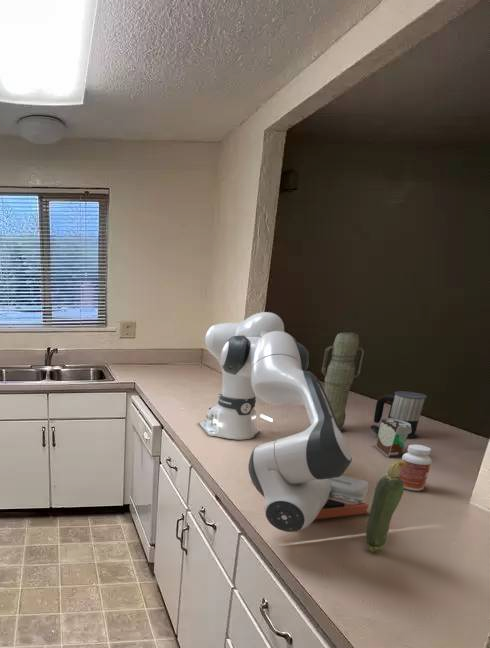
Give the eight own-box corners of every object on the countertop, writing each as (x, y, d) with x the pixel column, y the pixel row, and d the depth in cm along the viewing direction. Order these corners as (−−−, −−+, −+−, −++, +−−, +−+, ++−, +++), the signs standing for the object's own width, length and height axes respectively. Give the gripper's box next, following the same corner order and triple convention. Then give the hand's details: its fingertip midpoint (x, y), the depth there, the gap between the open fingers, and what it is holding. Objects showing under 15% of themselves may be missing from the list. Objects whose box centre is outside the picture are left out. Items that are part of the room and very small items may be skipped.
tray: (255, 482, 118) (256, 474, 117) (305, 477, 121) (306, 469, 120) (308, 521, 98) (310, 511, 97) (366, 514, 101) (368, 505, 100)
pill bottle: (427, 492, 112) (439, 452, 108) (399, 489, 113) (410, 450, 110) (418, 483, 117) (429, 444, 113) (392, 480, 119) (401, 442, 115)
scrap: (315, 507, 104) (317, 497, 103) (330, 505, 104) (332, 496, 104) (327, 515, 100) (329, 505, 99) (342, 513, 101) (344, 503, 100)
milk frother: (415, 433, 157) (425, 393, 152) (418, 445, 144) (430, 402, 139) (369, 426, 164) (377, 388, 159) (368, 438, 152) (377, 397, 147)
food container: (412, 460, 133) (421, 429, 129) (390, 458, 134) (398, 428, 130) (394, 446, 144) (401, 417, 140) (373, 445, 145) (380, 416, 142)
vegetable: (356, 543, 90) (378, 453, 83) (376, 542, 90) (399, 452, 83) (371, 555, 86) (395, 462, 79) (392, 554, 86) (417, 461, 79)
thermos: (309, 423, 168) (326, 331, 156) (344, 426, 164) (364, 332, 152) (312, 430, 160) (331, 333, 148) (349, 433, 157) (370, 334, 145)
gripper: (365, 490, 87) (376, 469, 97) (262, 464, 99) (281, 448, 109) (359, 517, 89) (370, 494, 99) (258, 489, 101) (278, 471, 111)
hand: (323, 470), depth 104 cm, fingers closed on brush, 3 cm apart
